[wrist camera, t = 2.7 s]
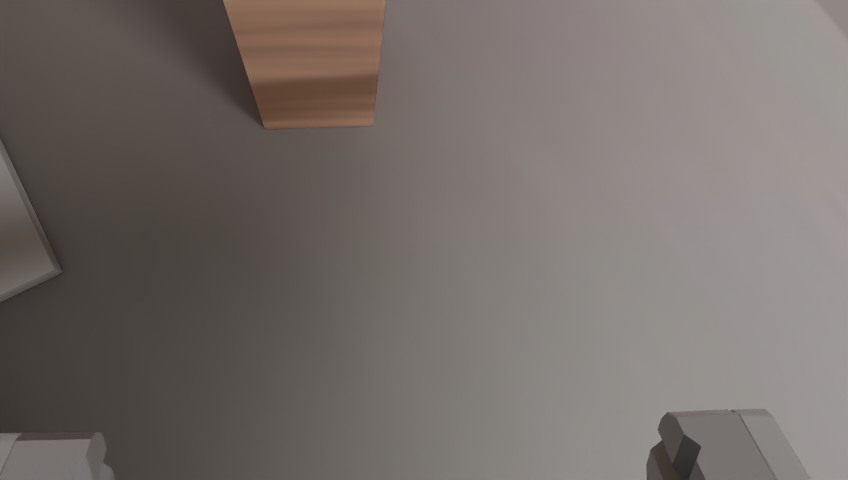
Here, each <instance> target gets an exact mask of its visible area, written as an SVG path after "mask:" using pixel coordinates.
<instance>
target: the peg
mask: <svg viewBox="0 0 848 480" xmlns="http://www.w3.org/2000/svg"><path fill="white" fill-rule="evenodd" d="M223 2H224V5H225V8H226V11H227V14H228V17H229V20H230V24H231V27H232V30H233V33H234V36H235V39H236V42H237V45H238V48H239V51H240V54H241V57H242V60H243V63H244V67H245V70H246V73H247V76H248V79H249V82H250V85H251V88H252V91H253V94H254V97H255V100H256V103H257V107H258V110H259V113H260V116H261V119H262V122H263V125H264V128H265V129H290V128H324V127H358V126H373V119H374V110H375V101H376V92H377V82H378V73H379V64H380V54H381V45H382V36H383V26H384V17H385V8H386V0H223Z"/></svg>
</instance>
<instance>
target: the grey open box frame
mask: <svg viewBox="0 0 848 480" xmlns="http://www.w3.org/2000/svg"><path fill="white" fill-rule="evenodd" d="M61 273H63V272H62V269H61V267H60V265H59V263H58V261H57V259H56V257H55V254H54V252H53V250H52V248H51V246H50V244H49V241H48V239H47V237H46V235H45V233H44V231H43V229H42V226H41V224H40V222H39V220H38V218H37V216H36V214H35V211H34V209H33V207H32V205H31V203H30V201H29V199H28V196H27V194H26V192H25V190H24V188H23V186H22V184H21V181H20V179H19V177H18V175H17V173H16V171H15V169H14V166H13V164H12V162H11V160H10V158H9V156H8V153H7V151H6V149H5V147H4V145H3V143H2V141H1V138H0V302H2V301H4V300H6V299H8V298H10V297H12V296H14V295H16V294H19V293H21V292H23V291H25V290H27V289H29V288H31V287H33V286H36V285H38V284H40V283H42V282H44V281H46V280H48V279H51V278H53V277H55V276H57V275H59V274H61Z"/></svg>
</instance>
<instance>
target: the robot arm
mask: <svg viewBox="0 0 848 480" xmlns="http://www.w3.org/2000/svg"><path fill="white" fill-rule="evenodd" d="M658 431H659V434H660V436H661V438H662V441H661V442H659V443H658V444H657V445H656V446H654V447H653V448H652V449H651V450H650V454H649V457H648V461H647V480H811V478H810V476H809V475H808V473H807V472H806V470H805V468H804V467H803V465H802V463H801V462H800V460H799V458H798V457H797V455H796V454H795V452H794V450H793V449H792V447H791V445H790V444H789V442H788V440H787V439H786V437H785V436H784V434H783V432H782V431H781V429H780V427H779V426H778V424H777V423H776V421H775V419H774V418H773V416H772V415H771V413H769V412H768V411H767V410H765V409H742V410H706V411H684V412H667V413H666V414H665V415H664V416H663V417H662V419H661V421H660V424H659V427H658ZM106 450H107V447H106V444H105V441H104V438H103V435H102V433H100V432H24V433H0V480H115V477H114V473H113V469H111V468H110V467H108V466H107V465H106V464H104V463H103V460H104V457H105V453H106Z"/></svg>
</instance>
